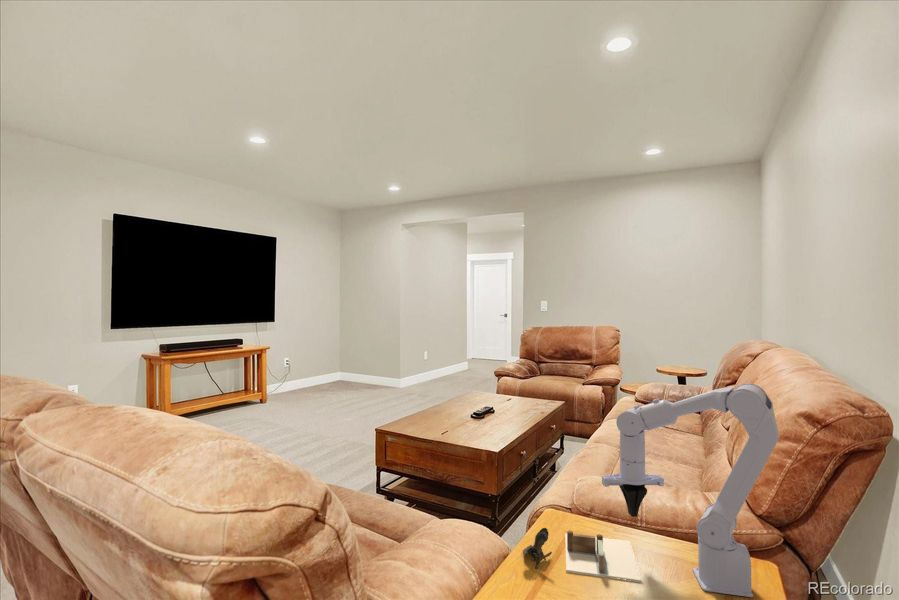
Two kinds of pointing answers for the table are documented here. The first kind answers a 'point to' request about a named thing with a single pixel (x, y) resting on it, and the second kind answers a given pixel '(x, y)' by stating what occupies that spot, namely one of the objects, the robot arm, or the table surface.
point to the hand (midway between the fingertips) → (632, 514)
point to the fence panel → (600, 556)
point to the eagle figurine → (538, 547)
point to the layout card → (605, 561)
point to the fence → (582, 543)
